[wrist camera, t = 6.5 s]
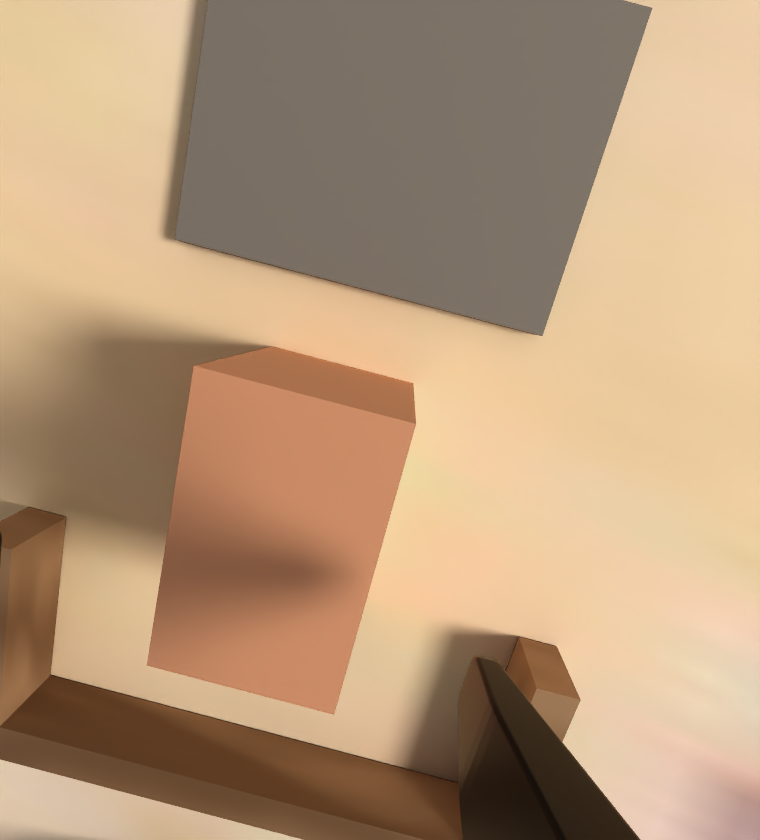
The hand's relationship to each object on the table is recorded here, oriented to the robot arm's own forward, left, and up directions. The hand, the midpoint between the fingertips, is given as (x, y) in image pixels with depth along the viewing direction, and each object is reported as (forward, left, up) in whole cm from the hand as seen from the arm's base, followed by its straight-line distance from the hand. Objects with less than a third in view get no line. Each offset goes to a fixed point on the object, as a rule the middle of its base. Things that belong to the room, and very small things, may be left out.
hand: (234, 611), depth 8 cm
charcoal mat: (+11, 0, -8) cm, 14 cm away
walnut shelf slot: (-9, 0, -8) cm, 12 cm away
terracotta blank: (0, 0, -8) cm, 9 cm away
